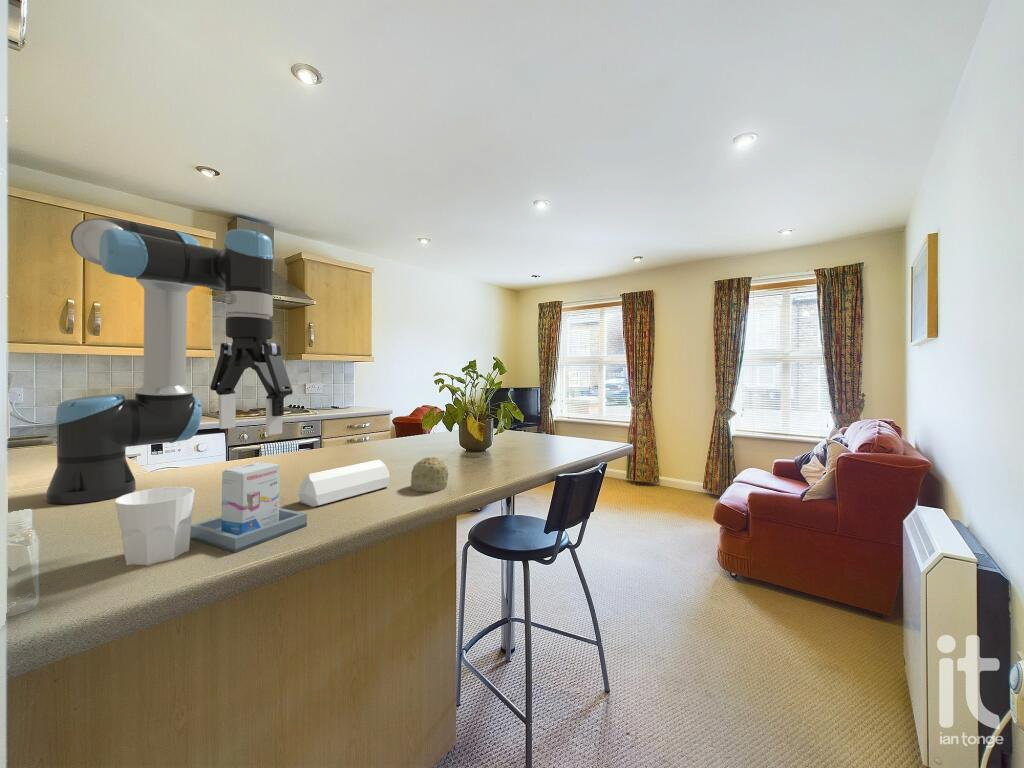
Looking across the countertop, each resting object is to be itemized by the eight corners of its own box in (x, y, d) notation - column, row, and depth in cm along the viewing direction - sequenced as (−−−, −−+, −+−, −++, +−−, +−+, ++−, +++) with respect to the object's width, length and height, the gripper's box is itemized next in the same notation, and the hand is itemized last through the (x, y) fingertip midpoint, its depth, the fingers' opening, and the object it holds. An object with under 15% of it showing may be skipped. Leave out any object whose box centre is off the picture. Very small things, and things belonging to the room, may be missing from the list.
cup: (98, 568, 67) (97, 504, 67) (151, 541, 77) (150, 486, 77) (163, 569, 67) (162, 505, 67) (208, 542, 77) (208, 487, 77)
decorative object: (432, 507, 110) (455, 473, 110) (399, 484, 109) (422, 451, 110) (437, 499, 119) (458, 468, 120) (406, 478, 119) (427, 447, 119)
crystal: (314, 494, 94) (400, 473, 114) (297, 473, 97) (384, 456, 117) (304, 520, 96) (390, 495, 116) (288, 499, 100) (375, 478, 120)
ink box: (242, 539, 77) (241, 472, 77) (220, 535, 79) (219, 470, 78) (280, 522, 86) (280, 462, 85) (260, 519, 87) (259, 460, 87)
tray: (189, 538, 79) (189, 525, 79) (262, 515, 91) (262, 504, 91) (235, 552, 73) (235, 538, 73) (306, 525, 86) (306, 513, 86)
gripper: (188, 316, 84) (189, 427, 85) (276, 312, 73) (276, 440, 74) (228, 320, 90) (228, 423, 91) (314, 317, 80) (313, 434, 81)
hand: (250, 431), depth 83 cm, fingers open, 13 cm apart
